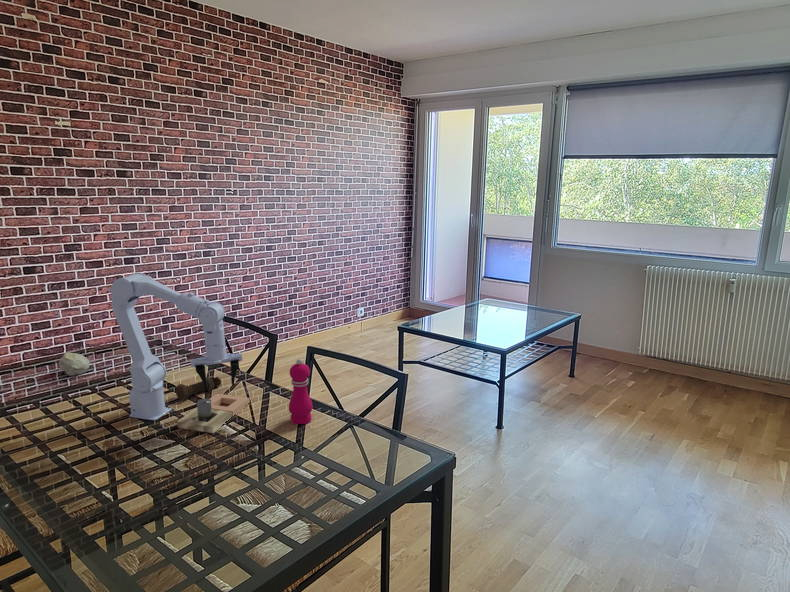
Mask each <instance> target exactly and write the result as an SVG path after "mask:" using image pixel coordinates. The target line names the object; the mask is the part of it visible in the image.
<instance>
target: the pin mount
mask: <svg viewBox="0 0 790 592" xmlns="http://www.w3.org/2000/svg"><path fill="white" fill-rule="evenodd" d="M231 417H232V412H228V411H221V410H215V409H212V419H211V420H210V421H208V422H204V421H198V412H197V407H195V408H194V409H193V410H192V411H190V412H188V413H187V414H186V415H184V416H183V417H181V418H180V419H179V420H177V421H176V424H177V426H176V427H177V428H179V429H185V430H191V431H197V432H202V433H209V434H215V433H216V432H217V431H219V429H220V428H222V427H223V426H224V425H226V423H225V422H226V421H228V420H229V419H230V418H231ZM232 418H233V417H232ZM230 420H231V419H230ZM230 420H229V421H230ZM229 421H228V422H229ZM223 424H224V425H223ZM222 425H223V426H222ZM221 426H222V427H221Z"/></svg>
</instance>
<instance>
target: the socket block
mask: <svg viewBox="0 0 790 592" xmlns="http://www.w3.org/2000/svg"><path fill="white" fill-rule="evenodd" d="M209 399H210V400H211V408H212V409H215V410H221V411H228V412H232V416H234V415H235V414H236V415H238V414H239V413H240V412H241V411H242V409H243V408H244V407H245V406H246V405H247V404H248V403H251V402H250V397H244V396H236V395H229V394H222V393H216V394H214V395H212V397H210V398H209ZM222 404H223V405H222ZM224 404H225V405H228V406H224ZM246 407H247V406H246ZM246 407H245V408H246ZM245 408H244V409H245ZM244 409H243V410H244ZM238 412H239V413H238ZM237 413H238V414H237ZM236 415H235V416H236ZM235 416H234V417H235Z"/></svg>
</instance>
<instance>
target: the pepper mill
mask: <svg viewBox="0 0 790 592" xmlns="http://www.w3.org/2000/svg"><path fill="white" fill-rule="evenodd" d="M295 361H296V363H294V364H292V366H291V367H290V369H289V375H290V378H291V385H292V389H293V391H292V395H291V398H290V401H289V402H288V403H289V404H288V412H289V413H290V422H291V424H293V423H294V424H293V425H295V424H304V425H308V424H310V422H311V421H312V414H311V412H312V411H313V409H314V407H313V405H314V404H313V401H312V399H311V397H310V395H309V392H308V385H309V377H310V374H311V370H310V367H309V366H308V365H307V364H306V363H303V359H302V358H298V359H297V360H295Z"/></svg>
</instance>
